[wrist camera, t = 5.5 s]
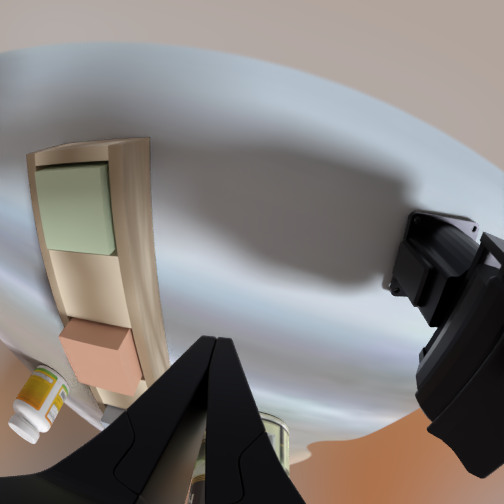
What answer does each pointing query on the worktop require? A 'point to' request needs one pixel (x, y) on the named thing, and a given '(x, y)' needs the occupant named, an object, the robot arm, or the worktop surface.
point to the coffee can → (279, 441)
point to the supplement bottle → (38, 403)
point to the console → (111, 258)
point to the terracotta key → (102, 355)
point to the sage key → (76, 207)
